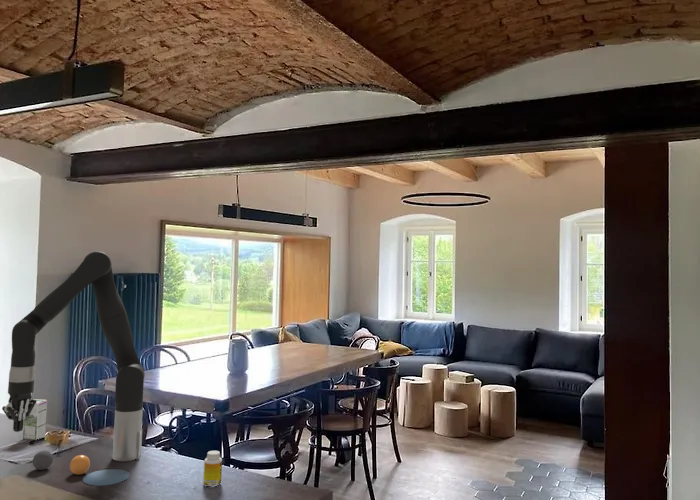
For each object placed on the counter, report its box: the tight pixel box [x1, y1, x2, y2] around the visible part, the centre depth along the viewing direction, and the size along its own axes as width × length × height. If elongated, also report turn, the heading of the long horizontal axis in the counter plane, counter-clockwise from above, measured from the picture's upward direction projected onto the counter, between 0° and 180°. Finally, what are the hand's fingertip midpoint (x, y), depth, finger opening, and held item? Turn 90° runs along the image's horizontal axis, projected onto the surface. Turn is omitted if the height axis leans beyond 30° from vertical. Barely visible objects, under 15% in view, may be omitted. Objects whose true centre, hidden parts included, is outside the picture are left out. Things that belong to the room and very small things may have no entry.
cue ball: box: [32, 450, 54, 471], centre depth 188 cm, size 6×6×6 cm
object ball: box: [69, 454, 91, 476], centre depth 185 cm, size 6×6×6 cm
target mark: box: [82, 468, 131, 487], centre depth 183 cm, size 14×14×1 cm
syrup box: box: [22, 398, 48, 441], centre depth 221 cm, size 6×6×14 cm
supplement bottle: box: [202, 450, 223, 487], centre depth 180 cm, size 6×6×10 cm
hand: (18, 431), depth 190 cm, fingers closed
